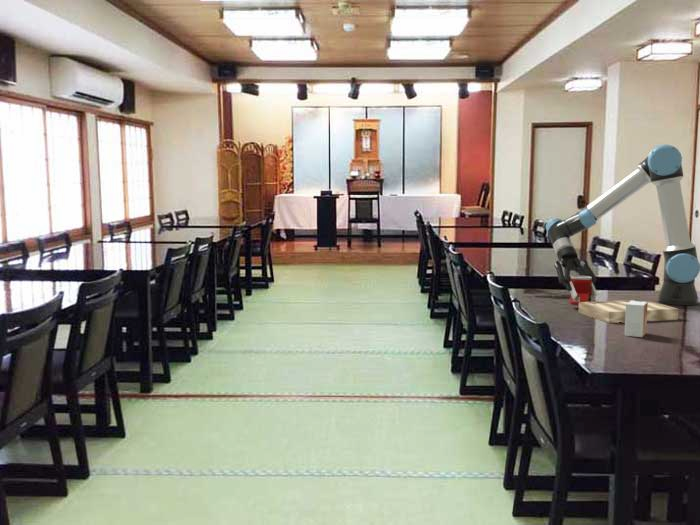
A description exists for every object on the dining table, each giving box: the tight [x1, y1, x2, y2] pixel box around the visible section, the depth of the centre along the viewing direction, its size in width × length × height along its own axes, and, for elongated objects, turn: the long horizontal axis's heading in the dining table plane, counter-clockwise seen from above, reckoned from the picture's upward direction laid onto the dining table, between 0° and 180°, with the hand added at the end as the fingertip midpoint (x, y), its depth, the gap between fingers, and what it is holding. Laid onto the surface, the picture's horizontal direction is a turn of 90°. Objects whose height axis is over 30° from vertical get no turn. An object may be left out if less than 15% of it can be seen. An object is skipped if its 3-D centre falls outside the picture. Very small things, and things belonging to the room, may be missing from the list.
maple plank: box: [578, 299, 680, 324], centre depth 253 cm, size 28×20×4 cm
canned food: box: [569, 274, 592, 307], centre depth 267 cm, size 8×8×11 cm
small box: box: [624, 301, 648, 338], centre depth 222 cm, size 8×6×10 cm
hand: (585, 296), depth 264 cm, fingers closed on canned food, 8 cm apart
